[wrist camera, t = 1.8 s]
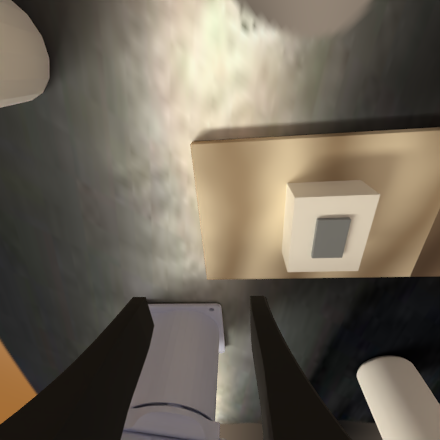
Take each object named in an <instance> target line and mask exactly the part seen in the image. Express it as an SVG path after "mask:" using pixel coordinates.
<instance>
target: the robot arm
mask: <svg viewBox="0 0 440 440" xmlns="http://www.w3.org/2000/svg"><path fill="white" fill-rule="evenodd" d="M250 320H251V342H252V352H253V359H254V366H255V372H256V379H257V386H258V392H259V399H260V406H261V415H262V427H263V440H352V439H351V438H350V437H349V436H348V434H347V433H346V432H345V430H344V429H343V428H342V426H341V425H340V424H339V422H338V421H337V420H336V418H335V417H334V416H333V414H332V413H331V412H330V411H329V409H328V408H327V407H326V405H325V404H324V402H323V401H322V399H321V398H320V397H319V395H318V394H317V392H316V391H315V389H314V388H313V386H312V385H311V383H310V382H309V380H308V379H307V377H306V376H305V374H304V373H303V371H302V370H301V368H300V366H299V365H298V363H297V361H296V360H295V358H294V356H293V355H292V353H291V351H290V349H289V348H288V346H287V344H286V342H285V340H284V338H283V336H282V334H281V332H280V330H279V328H278V326H277V324H276V322H275V320H274V318H273V315H272V313H271V311H270V308H269V305H268V302H267V299H266V297H264V296H250ZM223 352H225V340H224V329H223V318H222V307H221V305H220V304H217V303H207V304H148V303H147V300H146V297H133V298H132V299H131V300H130V301H129V303H128V304H127V305H126V306H125V307H124V308H123V309H122V311H121V312H120V313H119V314H118V315H117V316H116V317H115V319H114V320H113V321H112V322H111V323H110V324H109V325H108V327H107V328H106V329H105V330H104V331H103V332H102V333H101V334H100V335H99V336H98V338H97V339H96V340H95V341H94V342H93V343H92V344H91V345H90V346H89V347H88V348H87V349H86V350H85V351H84V352H83V353H82V354H81V355H80V356H79V357H78V358H77V359H76V360H75V361H74V362H73V363H72V364H71V365H70V366H69V367H68V368H67V369H66V370H65V371H64V372H63V373H62V374H61V375H59V376H58V377H57V378H56V379H55V380H54V381H53V382H52V383H51V384H49V385H48V386H47V387H46V388H45V389H44V390H42V391H41V392H40V393H39V394H38V395H37V396H35V397H34V398H33V399H32V400H31V401H29V402H28V403H27V404H26V405H24V406H23V407H22V408H21V409H20V410H19V411H17V412H16V413H15V414H13V415H12V416H11V417H9V418H8V419H7V420H6V421H4V422H3V423H2V424H0V440H226V439H223V438H219V436H220V423H219V422H215V410H216V391H217V373H218V354H219V353H223Z"/></svg>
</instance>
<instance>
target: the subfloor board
mask: <svg viewBox="0 0 440 440" xmlns="http://www.w3.org/2000/svg"><path fill="white" fill-rule="evenodd" d="M190 146H191V154H192V162H193V170H194V178H195V186H196V194H197V202H198V210H199V218H200V226H201V234H202V242H203V250H204V259H205V267H206V275H207V280H214V279H283V278H352V277H421V276H440V127H434V128H416V129H399V130H382V131H365V132H348V133H331V134H314V135H297V136H280V137H263V138H246V139H229V140H211V141H194V142H192V143H191V145H190ZM346 180H362V181H363V182H364V183H366V184H367V185H368V186H370V187H371V188H372V189H374V190H375V191H376V192H378V193H379V194H380V197H379V201H378V204H377V208H376V211H375V215H374V218H373V222H372V225H371V228H370V232H369V235H368V239H367V242H366V246H365V249H364V253H363V256H362V259H361V263H360V266H359V270H358V271H330V272H287V268H286V265H285V262H284V258H283V255H282V240H283V227H284V214H285V201H286V188H287V183H301V182H324V181H346Z"/></svg>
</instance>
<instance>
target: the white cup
mask: <svg viewBox="0 0 440 440" xmlns="http://www.w3.org/2000/svg"><path fill="white" fill-rule="evenodd" d="M49 78H50V71H49V56H48V53H47V50H46V47H45V44H44V41H43V38H42V36H41V34H40V33H39V31H38V30H37V28H36V27H35V25H34V24H33V22H32V21H31V19H30V18H29V16H28V15H27V14H26V13H25V12H24V11H23V10H22V9H21V8H20V7H18V6H17V5H16V4H15V3H14V2H13V1H12V0H0V108H1V107H5V106H10V105H14V104H19V103H23V102H27V101H32V100H33V99H34V98H36V97H37V96H39V95H40V94H42V93H43V92H44V89H45V87H46V85H47V83H48V80H49Z"/></svg>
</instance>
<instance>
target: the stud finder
mask: <svg viewBox="0 0 440 440" xmlns="http://www.w3.org/2000/svg"><path fill="white" fill-rule="evenodd" d="M379 197H380V194H379V193H378V192H376V191H375V190H374V189H372V188H371V187H370V186H368V185H367V184H366V183H364V182H363V181H362V180H346V181H324V182H301V183H287V188H286V201H285V214H284V227H283V240H282V255H283V258H284V262H285V265H286V268H287V272H330V271H358V270H359V266H360V263H361V259H362V256H363V253H364V249H365V246H366V242H367V239H368V235H369V232H370V228H371V225H372V222H373V218H374V215H375V211H376V208H377V204H378V201H379Z"/></svg>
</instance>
